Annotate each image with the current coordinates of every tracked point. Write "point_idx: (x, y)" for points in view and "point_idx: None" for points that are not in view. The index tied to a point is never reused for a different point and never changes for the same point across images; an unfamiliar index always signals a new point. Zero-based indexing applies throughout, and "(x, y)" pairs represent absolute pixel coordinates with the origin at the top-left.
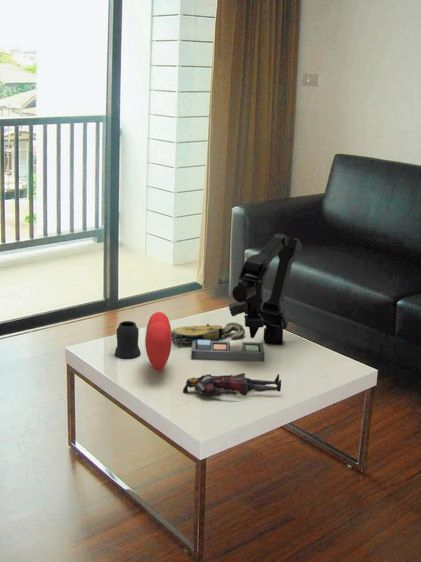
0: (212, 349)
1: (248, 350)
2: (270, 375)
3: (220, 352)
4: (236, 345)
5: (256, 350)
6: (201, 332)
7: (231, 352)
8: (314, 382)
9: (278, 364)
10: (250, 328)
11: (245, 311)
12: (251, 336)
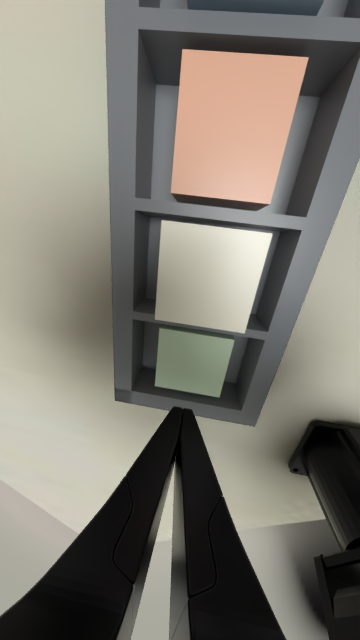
0: (160, 29)
1: (159, 340)
2: (11, 365)
3: (109, 130)
4: (161, 277)
5: (155, 377)
6: None
7: (111, 228)
8: (5, 451)
9: (109, 409)
10: (105, 512)
11: None
12: (167, 420)
